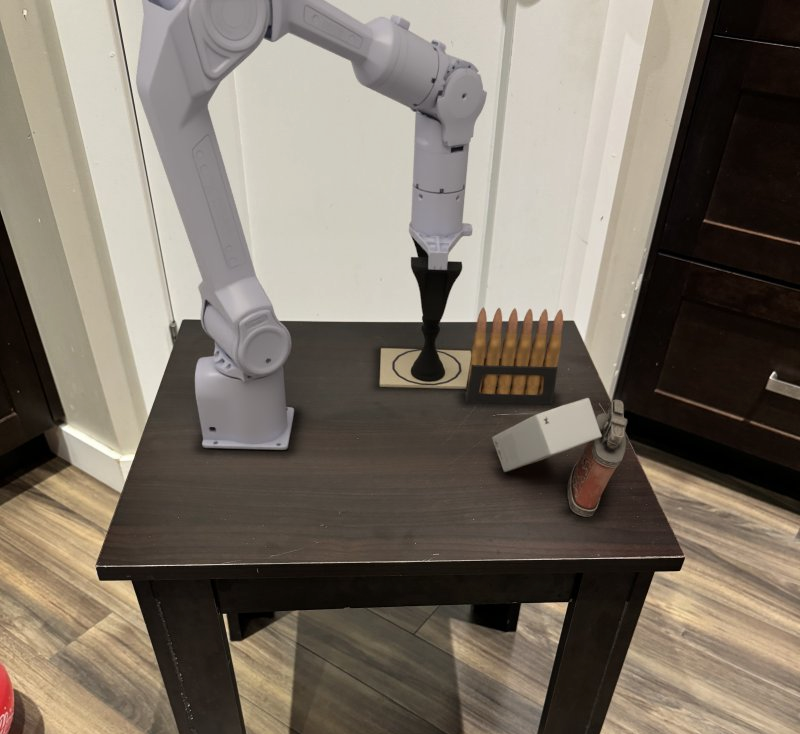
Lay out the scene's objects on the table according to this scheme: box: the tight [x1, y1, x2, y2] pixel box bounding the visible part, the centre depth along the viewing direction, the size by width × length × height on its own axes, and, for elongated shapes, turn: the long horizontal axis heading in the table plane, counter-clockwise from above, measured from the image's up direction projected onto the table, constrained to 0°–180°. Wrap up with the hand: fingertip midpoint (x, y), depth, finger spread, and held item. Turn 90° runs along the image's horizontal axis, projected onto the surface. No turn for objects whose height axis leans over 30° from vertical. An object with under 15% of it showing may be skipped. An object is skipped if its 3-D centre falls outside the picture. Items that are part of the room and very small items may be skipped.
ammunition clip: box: [464, 307, 564, 405], centre depth 91 cm, size 11×2×12 cm, turn 91°
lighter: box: [567, 399, 628, 518], centre depth 78 cm, size 8×3×10 cm, turn 168°
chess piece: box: [411, 315, 445, 382], centre depth 95 cm, size 4×4×10 cm
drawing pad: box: [379, 347, 472, 390], centre depth 99 cm, size 12×9×1 cm
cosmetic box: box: [491, 397, 602, 473], centre depth 79 cm, size 6×4×12 cm
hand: (431, 303), depth 92 cm, fingers open, 7 cm apart
